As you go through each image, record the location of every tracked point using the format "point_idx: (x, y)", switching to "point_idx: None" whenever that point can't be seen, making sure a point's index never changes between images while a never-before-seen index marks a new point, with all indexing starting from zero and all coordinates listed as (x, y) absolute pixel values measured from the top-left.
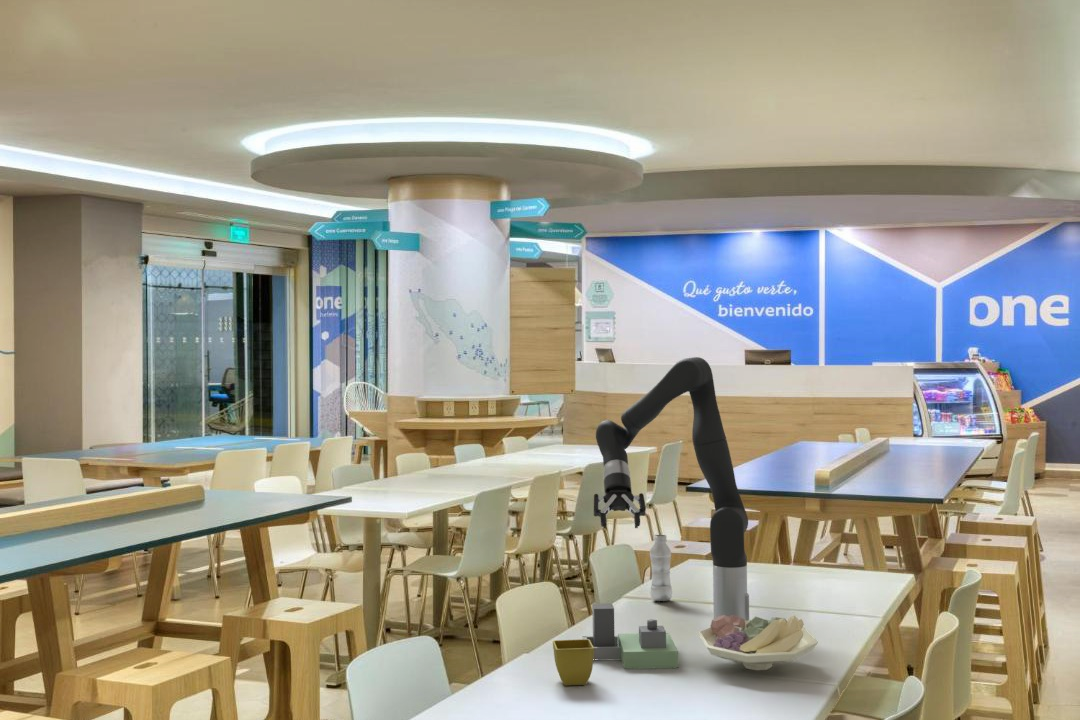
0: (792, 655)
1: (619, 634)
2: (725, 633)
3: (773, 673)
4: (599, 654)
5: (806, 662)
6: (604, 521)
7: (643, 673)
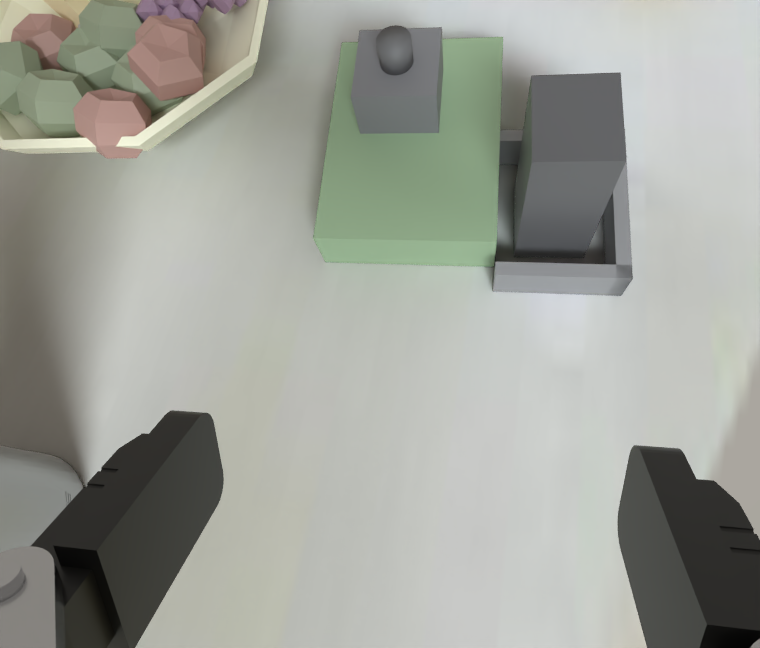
0: None
1: (492, 229)
2: (186, 22)
3: None
4: None
5: None
6: (681, 474)
7: (452, 37)
